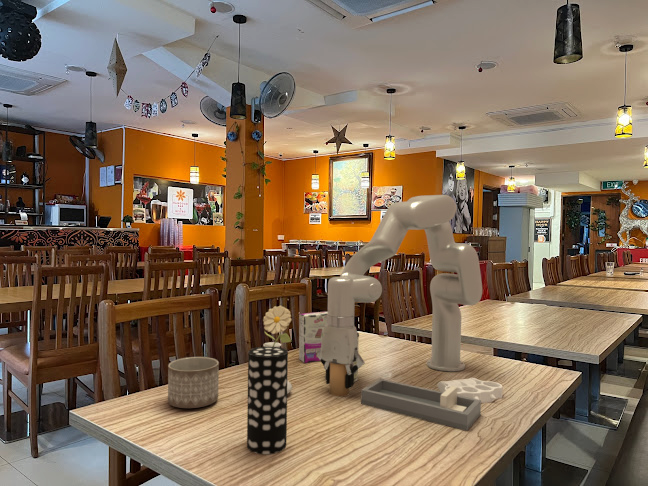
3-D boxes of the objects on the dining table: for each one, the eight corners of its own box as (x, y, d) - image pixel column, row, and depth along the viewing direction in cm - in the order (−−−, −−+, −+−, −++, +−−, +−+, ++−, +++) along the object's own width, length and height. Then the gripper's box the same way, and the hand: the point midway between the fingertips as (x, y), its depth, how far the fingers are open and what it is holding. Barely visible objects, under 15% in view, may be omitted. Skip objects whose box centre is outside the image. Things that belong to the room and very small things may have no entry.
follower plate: (451, 404, 120) (451, 385, 120) (468, 408, 117) (469, 389, 117) (439, 415, 113) (440, 395, 113) (458, 420, 110) (458, 399, 110)
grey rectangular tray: (380, 391, 133) (380, 378, 132) (480, 414, 117) (480, 400, 117) (360, 403, 123) (361, 389, 123) (467, 430, 108) (467, 414, 108)
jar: (336, 387, 135) (336, 352, 135) (353, 391, 132) (354, 356, 132) (325, 393, 130) (325, 357, 130) (342, 397, 127) (343, 360, 127)
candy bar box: (326, 356, 168) (326, 311, 168) (332, 359, 164) (333, 313, 163) (297, 359, 163) (298, 313, 163) (303, 363, 159) (304, 315, 158)
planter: (167, 396, 125) (167, 358, 125) (215, 392, 130) (215, 355, 129) (168, 415, 114) (169, 372, 113) (221, 409, 118) (221, 368, 118)
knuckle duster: (478, 385, 141) (514, 402, 127) (427, 391, 134) (459, 410, 121) (478, 374, 141) (514, 390, 127) (428, 380, 134) (460, 397, 121)
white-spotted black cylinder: (248, 436, 103) (249, 346, 102) (286, 435, 103) (287, 346, 103) (245, 454, 94) (246, 357, 94) (286, 453, 95) (288, 357, 94)
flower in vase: (242, 393, 129) (243, 303, 128) (273, 383, 137) (274, 299, 137) (273, 406, 120) (274, 310, 119) (304, 395, 128) (306, 305, 128)
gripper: (307, 319, 132) (306, 382, 133) (361, 327, 123) (359, 395, 123) (322, 315, 138) (321, 375, 139) (374, 323, 129) (372, 387, 129)
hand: (339, 384), depth 131 cm, fingers closed on jar, 5 cm apart
